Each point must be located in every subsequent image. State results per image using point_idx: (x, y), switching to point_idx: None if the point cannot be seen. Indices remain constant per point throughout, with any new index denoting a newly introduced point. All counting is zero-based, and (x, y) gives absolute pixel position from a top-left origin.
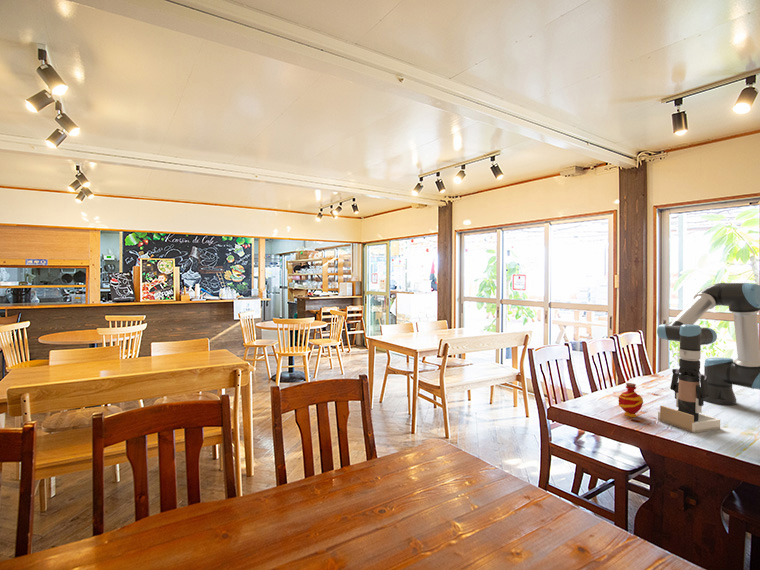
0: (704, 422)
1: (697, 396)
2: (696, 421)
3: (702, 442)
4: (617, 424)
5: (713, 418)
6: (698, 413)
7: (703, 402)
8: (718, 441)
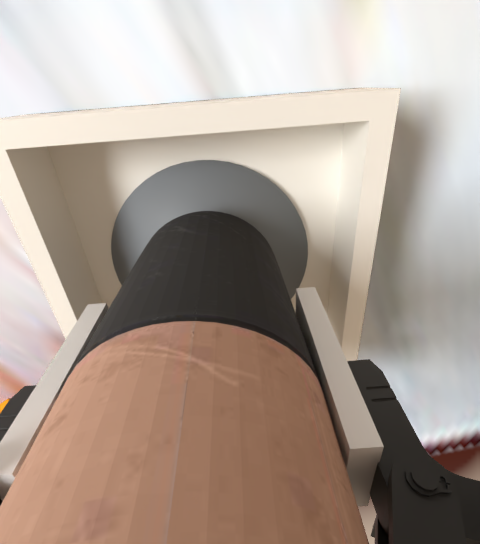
0: (364, 307)
1: (375, 542)
2: (224, 197)
3: (419, 398)
4: None
5: (339, 121)
6: (284, 283)
7: (397, 401)
8: (458, 330)
